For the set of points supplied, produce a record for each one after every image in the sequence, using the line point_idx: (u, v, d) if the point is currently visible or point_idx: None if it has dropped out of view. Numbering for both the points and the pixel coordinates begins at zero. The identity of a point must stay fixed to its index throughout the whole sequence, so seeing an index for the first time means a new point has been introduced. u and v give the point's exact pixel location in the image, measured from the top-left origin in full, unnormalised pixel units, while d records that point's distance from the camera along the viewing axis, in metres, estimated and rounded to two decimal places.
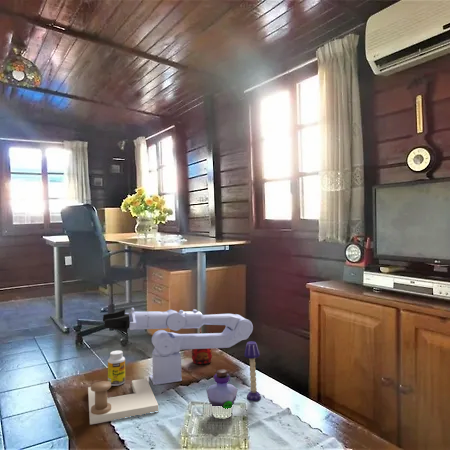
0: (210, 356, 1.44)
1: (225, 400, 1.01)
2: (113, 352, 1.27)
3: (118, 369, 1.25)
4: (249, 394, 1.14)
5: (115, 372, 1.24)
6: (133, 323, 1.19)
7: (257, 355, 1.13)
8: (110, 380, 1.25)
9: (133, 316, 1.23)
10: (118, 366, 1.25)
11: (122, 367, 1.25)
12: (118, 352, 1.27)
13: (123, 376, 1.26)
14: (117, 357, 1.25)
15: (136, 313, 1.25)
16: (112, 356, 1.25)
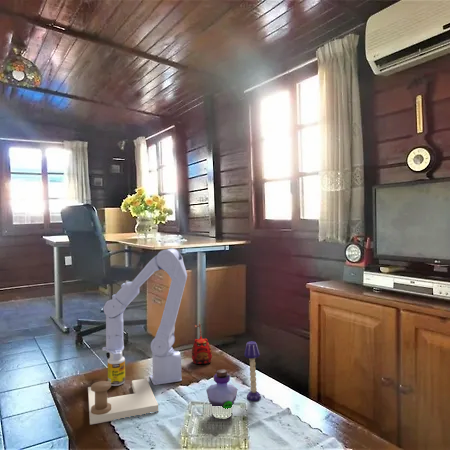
0: (210, 356, 1.44)
1: (225, 400, 1.01)
2: None
3: (118, 370, 1.24)
4: (249, 394, 1.14)
5: (115, 372, 1.24)
6: (114, 356, 1.24)
7: (257, 355, 1.13)
8: (110, 380, 1.24)
9: (109, 351, 1.27)
10: (118, 366, 1.24)
11: (122, 367, 1.25)
12: (118, 352, 1.26)
13: (123, 376, 1.26)
14: None
15: (107, 346, 1.29)
16: (112, 357, 1.25)
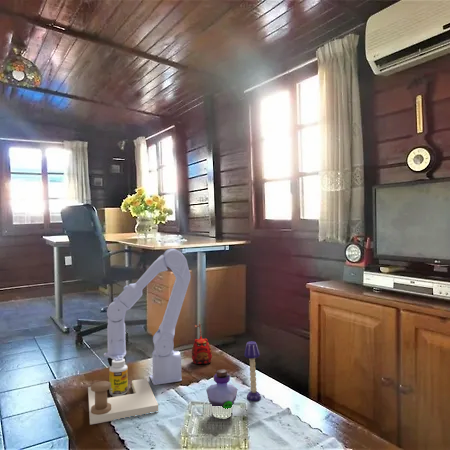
0: (210, 356, 1.44)
1: (225, 400, 1.01)
2: (115, 360, 1.19)
3: (120, 378, 1.17)
4: (249, 394, 1.14)
5: (117, 381, 1.17)
6: None
7: (257, 355, 1.13)
8: (111, 390, 1.17)
9: (111, 357, 1.22)
10: (120, 375, 1.17)
11: (124, 376, 1.18)
12: (120, 360, 1.19)
13: (125, 386, 1.18)
14: (119, 366, 1.18)
15: (108, 351, 1.24)
16: (114, 364, 1.18)
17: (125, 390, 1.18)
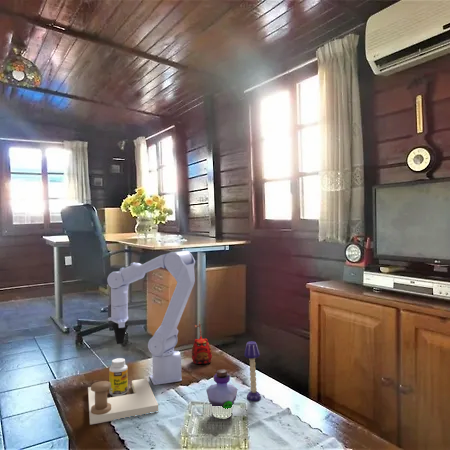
0: (210, 356, 1.44)
1: (225, 400, 1.01)
2: (115, 360, 1.19)
3: (120, 378, 1.17)
4: (249, 394, 1.14)
5: (117, 381, 1.17)
6: (119, 324, 1.29)
7: (257, 355, 1.13)
8: (111, 390, 1.17)
9: (114, 321, 1.32)
10: (120, 375, 1.17)
11: (124, 376, 1.18)
12: (120, 360, 1.19)
13: (125, 386, 1.18)
14: (119, 366, 1.18)
15: (112, 316, 1.34)
16: (114, 364, 1.18)
17: (125, 390, 1.18)
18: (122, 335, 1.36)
